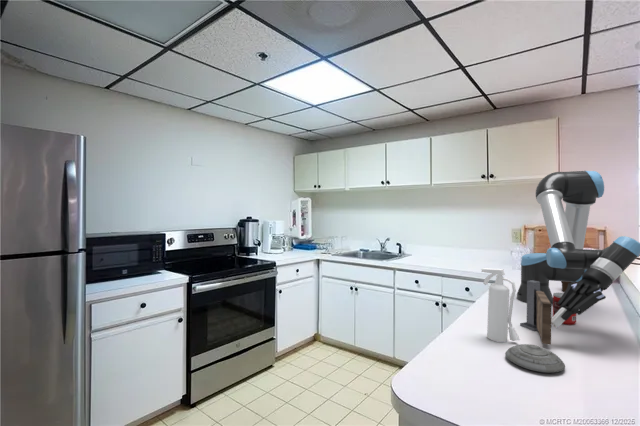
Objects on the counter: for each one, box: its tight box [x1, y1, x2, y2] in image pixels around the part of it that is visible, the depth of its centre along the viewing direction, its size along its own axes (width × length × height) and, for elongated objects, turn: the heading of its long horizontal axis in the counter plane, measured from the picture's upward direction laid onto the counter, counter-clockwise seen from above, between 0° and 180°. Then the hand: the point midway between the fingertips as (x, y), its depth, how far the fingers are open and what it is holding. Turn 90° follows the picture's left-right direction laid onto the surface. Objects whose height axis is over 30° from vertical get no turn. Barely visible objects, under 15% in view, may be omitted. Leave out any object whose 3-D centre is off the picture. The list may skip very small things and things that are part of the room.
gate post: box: [519, 280, 540, 332], centre depth 126 cm, size 6×6×18 cm
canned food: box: [552, 292, 577, 326], centre depth 132 cm, size 8×8×11 cm
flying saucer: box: [504, 343, 566, 373], centre depth 98 cm, size 15×15×6 cm
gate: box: [536, 290, 552, 346], centre depth 116 cm, size 19×2×13 cm, turn 152°
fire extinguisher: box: [481, 267, 521, 343], centre depth 115 cm, size 7×12×25 cm, turn 42°
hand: (553, 324), depth 110 cm, fingers closed
